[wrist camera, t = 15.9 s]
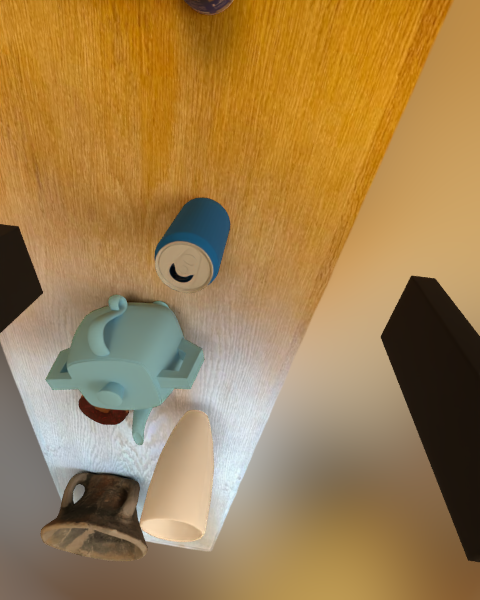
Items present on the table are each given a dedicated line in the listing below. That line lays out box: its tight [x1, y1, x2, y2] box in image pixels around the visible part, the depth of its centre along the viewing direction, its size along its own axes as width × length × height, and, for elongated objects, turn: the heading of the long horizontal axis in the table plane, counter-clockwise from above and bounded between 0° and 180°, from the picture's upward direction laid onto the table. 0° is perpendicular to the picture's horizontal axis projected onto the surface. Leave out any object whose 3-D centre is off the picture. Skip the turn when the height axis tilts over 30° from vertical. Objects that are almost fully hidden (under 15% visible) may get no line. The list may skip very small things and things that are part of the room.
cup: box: [139, 410, 214, 542], centre depth 53 cm, size 10×10×22 cm
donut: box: [79, 395, 129, 425], centre depth 62 cm, size 10×10×4 cm
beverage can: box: [155, 198, 230, 293], centre depth 34 cm, size 6×6×12 cm
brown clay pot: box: [41, 472, 148, 561], centre depth 82 cm, size 27×26×15 cm
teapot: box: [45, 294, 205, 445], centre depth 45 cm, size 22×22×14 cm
